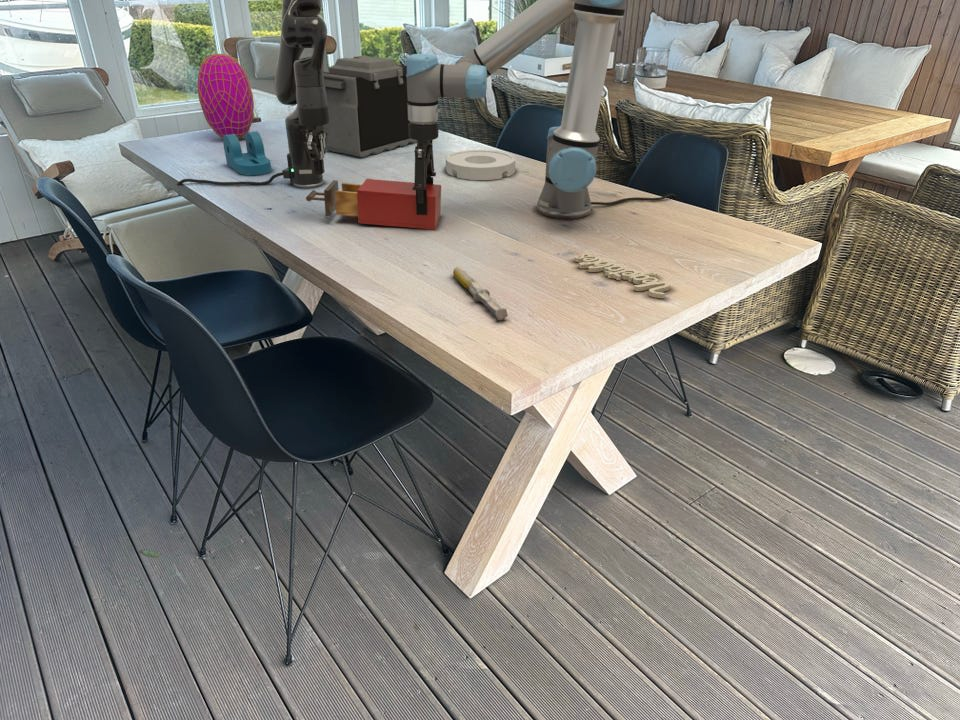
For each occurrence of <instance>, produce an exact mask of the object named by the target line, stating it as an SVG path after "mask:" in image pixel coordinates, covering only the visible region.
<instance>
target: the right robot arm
mask: <svg viewBox="0 0 960 720" xmlns="http://www.w3.org/2000/svg"><path fill="white" fill-rule="evenodd" d="M627 2H628V0H536V1H534V2H533V3H532V4H531V5H529V6H528V7H527V8H526V9H524V10H523V11H522V12H520V13H518V15H516V16H515V17H514V18H513V19H511V20H510V21H509V22H507V23H506V24H505V25H504V26H502V27H501V28H500V29H498V30H497V31H495V33H493V34H492V35H490V36H489V37H488V38H486V39H485V40H484V41H482V42H481V43H480V44H479V45H477V46H476V47H475V48H473V49H472V50H471V51H469V52H468V53H467V54H466V55H464V56H462V57H460V58H459V59H458V60H457V61H455V63H454V64H445V63H439V60H438V57H437V55H435V54H432V53H413V54H410V55H408V57H407V59H406V66H407V75H406V77H407V96H408V120H409V121H410V122H409V124H408V128H409V137H410V138H411V139H413V140H417V141H418V142H416V146H415V147H414V182H413V183H414V187H413V190H416V214H417V215H427V189H426V184H434V177H436V176H437V172H436V171H435V163H434V162H435V160H434V149H433V147H434V146H433V141H434V140H437V139H438V138H439V123H438V121H439V113H441V108H439V98H454V99H470V100H475V99H483V98H485V97H486V96H487V90H488V78H489V77H490V76H491V75H492V74H494V73H496V72H497V71H498V70H499V69H501V68H502V67H503V66H505V65H507V64H508V63H509V62H511V61H512V60H513V59H515V58H516V57H517V56H519V55H520V54H522V53H523V52H524V51H525V50H527V49H528V48H529V47H531V46H532V45H534V44H535V43H536V42H538V41H539V40H540V39H542V38H543V37H544V36H546V35H547V34H549V33H550V32H551V31H552V30H554V29H556V28H557V27H558V26H560V25H561V24H562V23H563V22H565V21H566V20H568V19H569V18H570V17H572V16H573V15H576V17H577V27H576V31H575V38H574V44H573V50H572V56H571V62H570V68H569V73H568V80H567V87H566V93H565V98H564V103H563V104H564V105H563V110H562V116H561V123H560V125H559V126H552V127H549V129H548V132H547V136H546V140H547V142H546V143H547V144H546V161H545V178H544V179H545V180H544V184H543V187H542V189H541V192H540V194H539V197H538V199H537V203H536V211H537V212H538V213H539V214H541V215H542V216H545V217H549V218H553V219H560V220H575V219H582V218H585V217H587V216H589V215H591V213H592V205H593V206H594V205H595V206H612V205H616V204H619V203H623V202H627V201H629V202H630V201H654V202H655V201H663V200H665V199H668V198H670V197H673V198H674V199H678V197H677V195H676V194H674V193H667V194H666V195H664V196H663V195H662V196H661V197H638V196H637V197H636V196H635V197H625V198H621V199H618V200H613V201H608V202H606V201H604V202H603V201H591V197H590V192H589V186H591V184H592V182H593V181H594V179H595V177H596V173H597V162H596V160H597V156H598V150H599V145H600V140H601V138H600V135H599V134H598V133H597V131H596V128H597V123H598V117H599V112H600V107H601V102H602V98H603V97H602V96H603V92H604V86H605V81H606V75H607V71H608V66H609V65H608V64H609V60H610V55H611V50H612V45H613V40H614V39H613V38H614V33H615V29H616V25H617V24H618V22H620V21H621V20H622V19H623V18H624V16H625V11H626V8H627ZM418 184H421V185H418Z"/></svg>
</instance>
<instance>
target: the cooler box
mask: <svg viewBox="0 0 960 720" xmlns="http://www.w3.org/2000/svg"><path fill="white" fill-rule="evenodd" d="M406 75H407V65H400V64H396V62H395V60H394V59H393V58H385V57H377V56H367V55H356V56H353V57H350V58H349V57H343V58H342V57H341V58H337V59H336V60H335V63H334V64H333V65H330V66H329V67H328V72H327V71H324V82H325V89H326V93H327V102H328V112H329V123H328V124H327V125H324V126H323V127H324V131H325V132H327V134H328V136H327V146H326V151H330V152H335V153H340V154H344V155H348V156H353V157H357V158H362V159H363V158H366V157H367V158H368V157H369V155H371V154H375V155H377V154H381V153H382V152H383V151H391V150H395V149H396V148H397V147H405V146H407V145H408V144H417V143H418V141H417V140H413V139H411V138H410V137H409V128H408V124H409V122H410V121H409V120H408V96H407V77H406Z"/></svg>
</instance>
